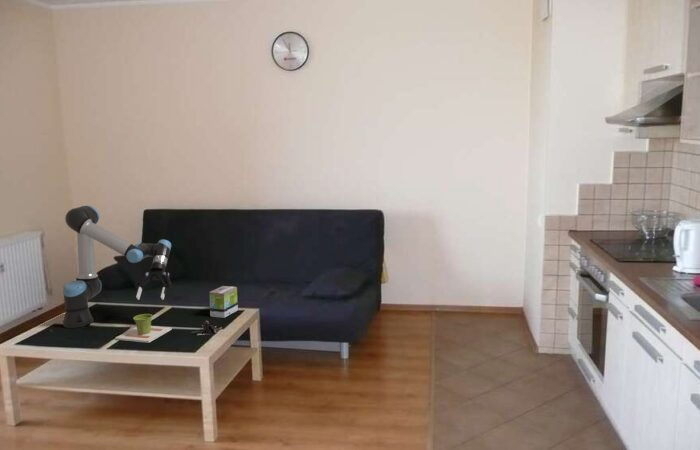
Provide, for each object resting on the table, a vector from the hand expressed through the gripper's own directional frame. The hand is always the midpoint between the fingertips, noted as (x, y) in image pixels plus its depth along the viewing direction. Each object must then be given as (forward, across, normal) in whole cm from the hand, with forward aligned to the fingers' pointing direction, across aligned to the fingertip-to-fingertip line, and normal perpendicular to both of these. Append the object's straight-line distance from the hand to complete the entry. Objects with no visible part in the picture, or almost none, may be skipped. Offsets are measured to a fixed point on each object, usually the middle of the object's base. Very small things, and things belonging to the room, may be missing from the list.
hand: (149, 298), depth 306 cm
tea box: (-6, +33, +30) cm, 45 cm away
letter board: (+19, 0, +4) cm, 19 cm away
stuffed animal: (+16, +32, +8) cm, 37 cm away
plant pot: (+18, 0, +4) cm, 19 cm away
